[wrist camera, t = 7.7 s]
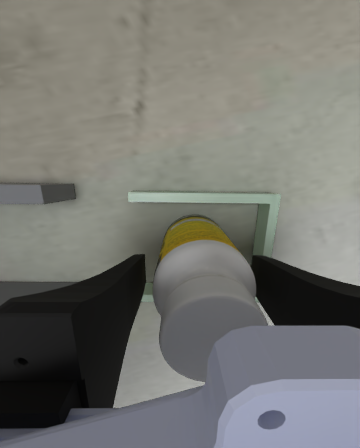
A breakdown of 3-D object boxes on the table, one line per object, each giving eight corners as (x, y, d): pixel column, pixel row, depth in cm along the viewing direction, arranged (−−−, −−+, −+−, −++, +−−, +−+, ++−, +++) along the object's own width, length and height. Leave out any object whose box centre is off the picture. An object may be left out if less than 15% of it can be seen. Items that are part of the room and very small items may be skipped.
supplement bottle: (156, 222, 15) (117, 294, 5) (216, 207, 15) (286, 255, 5) (171, 275, 16) (163, 408, 7) (227, 262, 16) (299, 382, 7)
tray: (254, 289, 17) (263, 302, 15) (139, 288, 17) (134, 301, 15) (268, 192, 14) (281, 194, 13) (134, 190, 14) (128, 192, 13)
